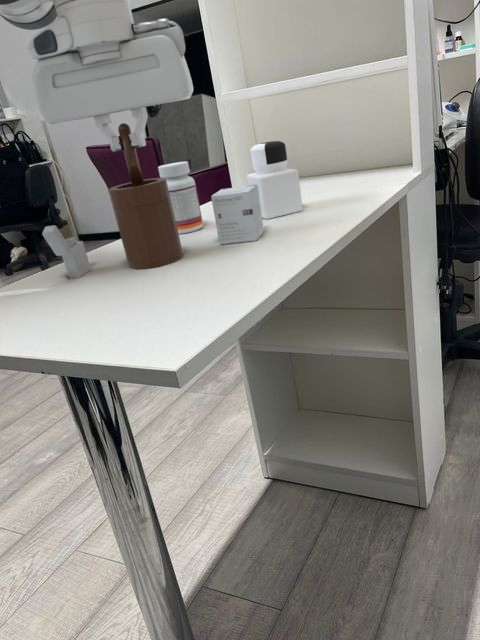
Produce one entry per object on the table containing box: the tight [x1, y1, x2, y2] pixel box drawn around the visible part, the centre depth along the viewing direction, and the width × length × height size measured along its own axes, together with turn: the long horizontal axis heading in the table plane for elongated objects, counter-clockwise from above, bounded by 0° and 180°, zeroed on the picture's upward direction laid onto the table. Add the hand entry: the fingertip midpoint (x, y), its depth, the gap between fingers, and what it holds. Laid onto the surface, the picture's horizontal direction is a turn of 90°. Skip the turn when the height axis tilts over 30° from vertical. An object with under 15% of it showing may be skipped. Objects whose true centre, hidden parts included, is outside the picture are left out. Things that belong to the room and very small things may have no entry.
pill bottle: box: [157, 161, 204, 235], centre depth 94 cm, size 6×6×11 cm
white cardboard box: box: [210, 185, 265, 245], centre depth 82 cm, size 6×6×7 cm
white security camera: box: [246, 140, 304, 220], centre depth 95 cm, size 7×7×12 cm
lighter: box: [41, 224, 92, 280], centre depth 76 cm, size 7×2×8 cm, turn 172°
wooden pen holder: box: [107, 177, 184, 270], centre depth 77 cm, size 8×8×11 cm
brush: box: [117, 122, 144, 187], centre depth 74 cm, size 4×4×14 cm
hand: (129, 148), depth 73 cm, fingers closed on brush
